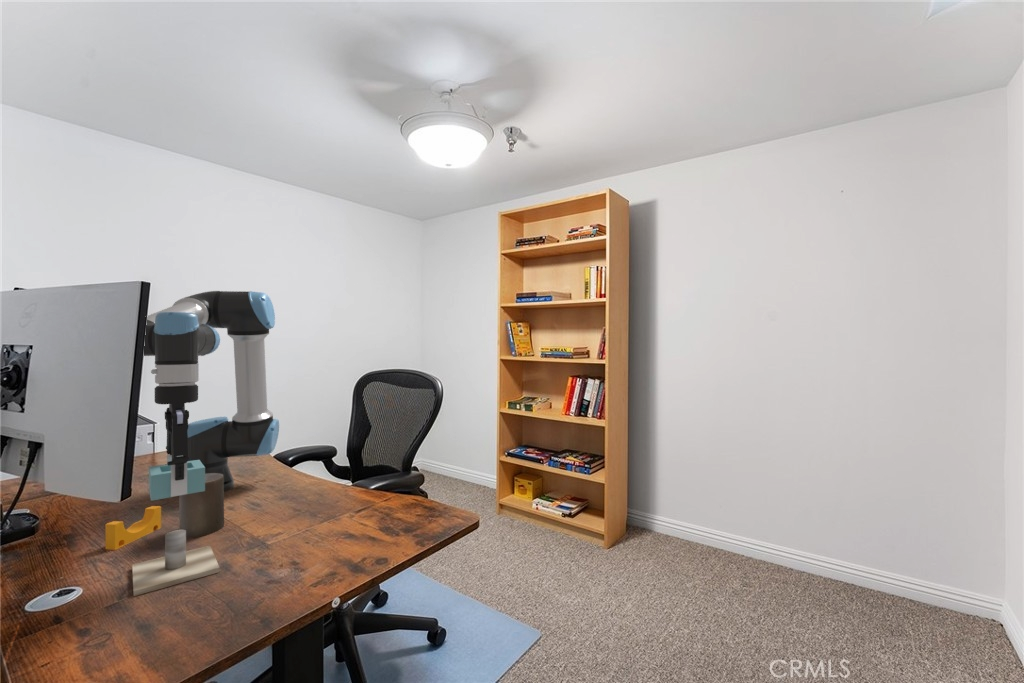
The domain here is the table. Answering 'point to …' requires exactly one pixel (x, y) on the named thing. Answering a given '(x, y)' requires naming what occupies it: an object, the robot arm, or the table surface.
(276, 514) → the table surface
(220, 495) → the pillar candle
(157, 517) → the pipe clamp
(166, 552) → the post block
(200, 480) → the collar
